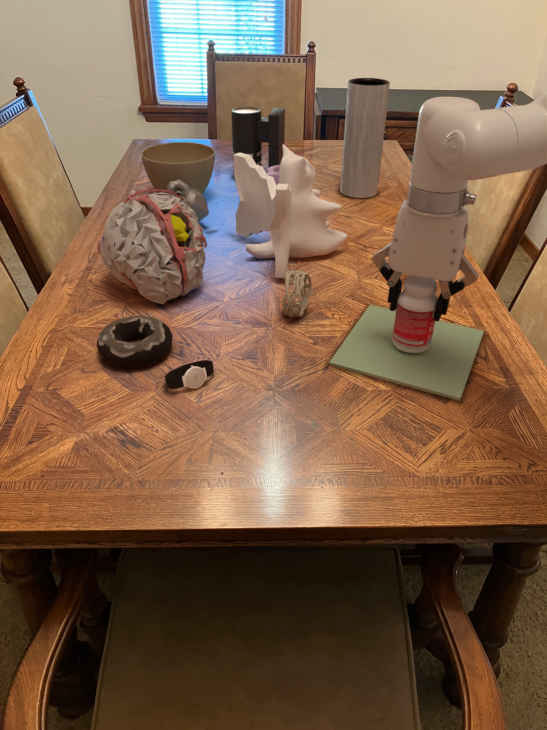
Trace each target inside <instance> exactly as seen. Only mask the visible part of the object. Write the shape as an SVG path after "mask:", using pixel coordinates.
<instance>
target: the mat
mask: <svg viewBox="0 0 547 730" xmlns="http://www.w3.org/2000/svg"><path fill="white" fill-rule="evenodd" d="M395 314H396V310H395V311H390V308H386V307H382V306H378V305H373V304H369V305H368V307H367V308H366V310H365V311H364V312H363V313H362V314H361V316H360V318H359V319H358V320H357V322H356V324H355V325H354V326H353V328H352V329H351V330H350V332H349V334H348V335H347V336H346V338H345V339H344V341H342V344H341V345H340V346H339V348H338V349H337V351H336V352H335V353H334V355H333V356H332V357H331V359H330V361H329V363H328V365H329V366H331V367H335V368H338V369H342V370H344V371H345V370H346V371H348V372H352V373H356V374H360V375H363V376H368V377H371V378H375V379H377V380H381V381H385V382H389V383H393V384H396V385H399V386H403V387H407V388H411V389H415V390H417V391H422V392H425V393H429V394H432V395H433V394H434V395H436V396H440V397H444V398H447V399H450V400H454V401H458V402H460V401H461V399H462V396H463V393H464V391H465V388H466V385H467V382H468V379H469V376H470V374H471V370H472V367H473V364H474V362H475V359H476V356H477V354H478V350H479V347H480V345H481V341H482V339H483V336H484V333H485V331H484V330H482V329H479V328H473V327H470V326H464V325H460V324H456V323H451V322H448V321H443V320H439V322H438V321H435V325H434V331H433V336H432V341H431V345H430V347H429V348H428V349H427V350H426V351H424V352H420V353H409V352H404V351H402V350H399V349H398V348H396V347H395V346H394V344H393V342H392V334H393V327H394V320H395Z"/></svg>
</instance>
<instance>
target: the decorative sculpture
mask: <svg viewBox="0 0 547 730" xmlns="http://www.w3.org/2000/svg"><path fill="white" fill-rule="evenodd" d="M157 191H162V192H166V193H158V192H157ZM145 192H152V193H145ZM167 193H172V194H174V195H176V196H178V197H179V198H178V197H176V196H173V195H171V194H167ZM140 194H142V195H140ZM180 198H181V199H183V198H182V197H180V196H179V195H177V194H176V193H174V192H173V191H167V190H158V189H155V188H146V189H143V190H140V191H138V192H135V193H133V194H130V195H129V196H128V197H125V200H123V201H122V202H120V203H118V205H116V206H115V207H114V208H113V209H112V210H111V211H110V213H109V215H108V218H107V220H106V222H105V224H104V229H103V232H102V234H101V236H100V239H99V241H98V242H97V253H99V255H100V257H101V260H102V262H103V264H104V266H105V267H106V269H107V270H108V271H109V272H110V273H111V274H112V275H113V276H114V277H115V278H116V279H117V280H119V281H120V282H122V283H123V284H125V285H126V286H128V287H130V288H131V290H135V291H138V293H139V295H141V296H142V297H144V298H145V299H146V300H148V301H150V302H152V303H156V304H161V305H164V304H165V303H167V301H171V300H172V299H177V298H178V297H179V296H181V297H184V296H186V295H187V294H189V292H191V291H192V290H194V289H197V288H198V287H200V286H201V284H202V281H203V279H204V275H203V274H204V272H203V270H204V266H205V264H206V257H207V256H206V252H205V251H206V250H205V248H207V247H208V242H207V238H206V236H205V235H204V229H203V227H202V226H201V224H200V223H199V222H198V217H197V216H196V213H195V212H194V211H193V210H192V209H191V208H190V207H189V206H188V205H187V204H186V203H184V202H183V201H182V200H181V199H180ZM183 200H185V199H183ZM185 201H186V200H185ZM187 202H188V201H187ZM189 203H190V202H189ZM131 290H128V293H130V294H132V291H131Z"/></svg>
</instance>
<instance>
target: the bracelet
mask: <svg viewBox="0 0 547 730" xmlns="http://www.w3.org/2000/svg"><path fill="white" fill-rule="evenodd" d="M284 279H285V280H284V281H285V283H284V285H285V286H284V287H285V291H284V293H283V298H282V301H281V305H282V309H283V311H284V312H283V313H284V316H288V317H291V318H293V317H295V318H297V317H299V318H302V317H303V315H304V311H305V310H306V309H307V308H308V305H309V304H308V303H309V301H310V296H311V293H312V288H313V287H312V286H313V285H312V279H311V275H310V274H309V273H308V272H306V271H301V270H298V269H296V270H294V269H291V270H287V272H286V273H285V278H284ZM307 281H308V282H307ZM292 285H293V286H292ZM290 286H292V290H291V292H290ZM307 289H308V290H307ZM296 299H298V301H296V302H295V300H296ZM286 300H287V304H286Z"/></svg>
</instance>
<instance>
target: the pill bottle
mask: <svg viewBox="0 0 547 730" xmlns="http://www.w3.org/2000/svg"><path fill="white" fill-rule="evenodd" d="M437 287H438V281H437V280H434V279H429V278H424V277H419V276H414V275H409V276H408V277H406V278H405V280H404V285H403V290H401V293H400V294H399V296H398V299H397V306H396V309H395V311H396V314H395V320H394V327H393V334H392V342H393V344H394V346H395V347H396V348H398V349H399V350H402V351H404V352H409V353H420V352H424V351H426V350H427V349H428V348H429V347H430V345H431V341H432V336H433V331H434V325H435V320H434V317H435V311H436V306H437V301H438V296H437V295H436V292H437Z"/></svg>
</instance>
